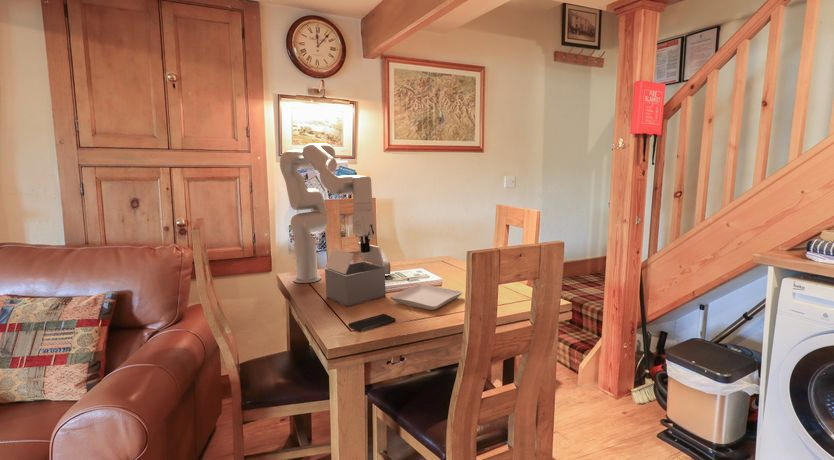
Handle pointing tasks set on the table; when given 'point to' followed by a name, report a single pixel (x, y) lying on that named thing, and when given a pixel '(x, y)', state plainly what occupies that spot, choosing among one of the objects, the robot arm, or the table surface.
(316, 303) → the table surface
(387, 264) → the ceramic mug
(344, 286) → the carton
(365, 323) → the phone
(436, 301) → the salad plate
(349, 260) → the flap
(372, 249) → the flap
